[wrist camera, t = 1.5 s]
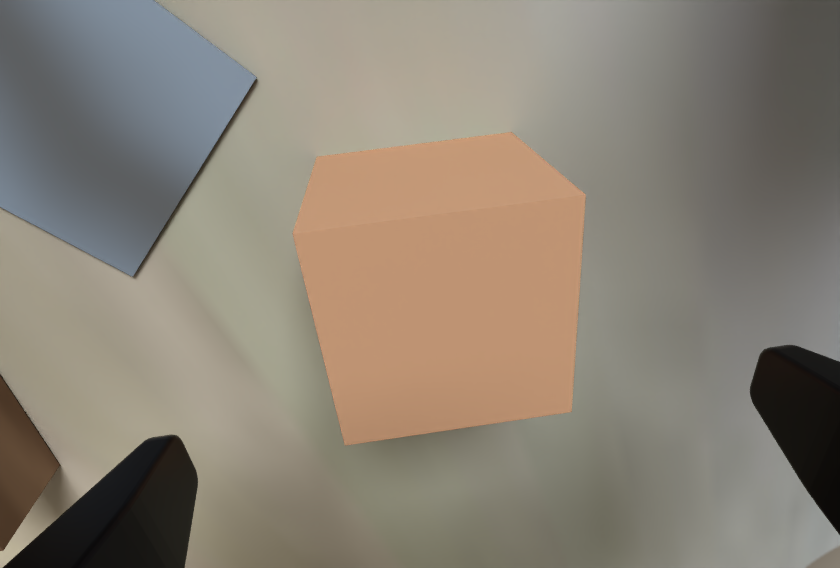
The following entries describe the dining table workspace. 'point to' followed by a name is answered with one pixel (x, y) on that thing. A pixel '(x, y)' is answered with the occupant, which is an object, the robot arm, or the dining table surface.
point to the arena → (98, 152)
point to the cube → (442, 284)
